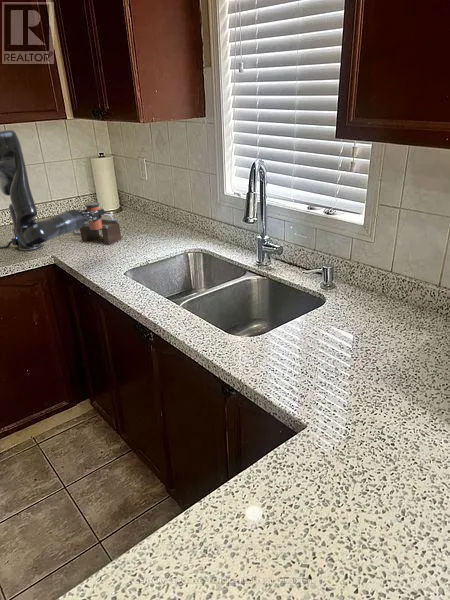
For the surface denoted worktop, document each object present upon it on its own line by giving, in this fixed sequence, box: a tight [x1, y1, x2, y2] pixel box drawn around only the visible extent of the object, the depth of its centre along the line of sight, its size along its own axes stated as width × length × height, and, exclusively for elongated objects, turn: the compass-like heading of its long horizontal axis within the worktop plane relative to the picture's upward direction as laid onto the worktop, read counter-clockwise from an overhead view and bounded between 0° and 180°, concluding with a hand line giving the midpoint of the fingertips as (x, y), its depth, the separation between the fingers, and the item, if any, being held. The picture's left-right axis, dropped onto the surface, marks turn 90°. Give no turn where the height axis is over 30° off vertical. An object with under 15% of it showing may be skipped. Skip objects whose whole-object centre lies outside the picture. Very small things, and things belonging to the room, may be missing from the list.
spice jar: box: [84, 201, 103, 231], centre depth 179 cm, size 5×5×10 cm
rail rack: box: [79, 218, 122, 246], centre depth 207 cm, size 16×9×9 cm, turn 64°
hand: (97, 210), depth 180 cm, fingers closed on spice jar, 5 cm apart
